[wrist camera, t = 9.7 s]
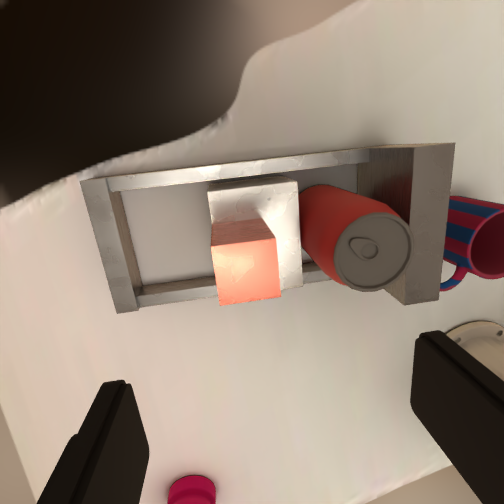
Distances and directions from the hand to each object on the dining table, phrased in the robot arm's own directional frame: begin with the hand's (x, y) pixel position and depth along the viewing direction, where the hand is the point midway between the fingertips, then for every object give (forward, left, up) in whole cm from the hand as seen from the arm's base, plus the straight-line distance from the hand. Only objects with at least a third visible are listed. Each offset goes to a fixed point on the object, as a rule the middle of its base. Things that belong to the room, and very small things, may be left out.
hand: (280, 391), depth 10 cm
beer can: (-8, 0, -22) cm, 24 cm away
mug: (-22, +4, -22) cm, 31 cm away
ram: (-1, 0, -22) cm, 22 cm away
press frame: (-2, 0, -22) cm, 22 cm away
